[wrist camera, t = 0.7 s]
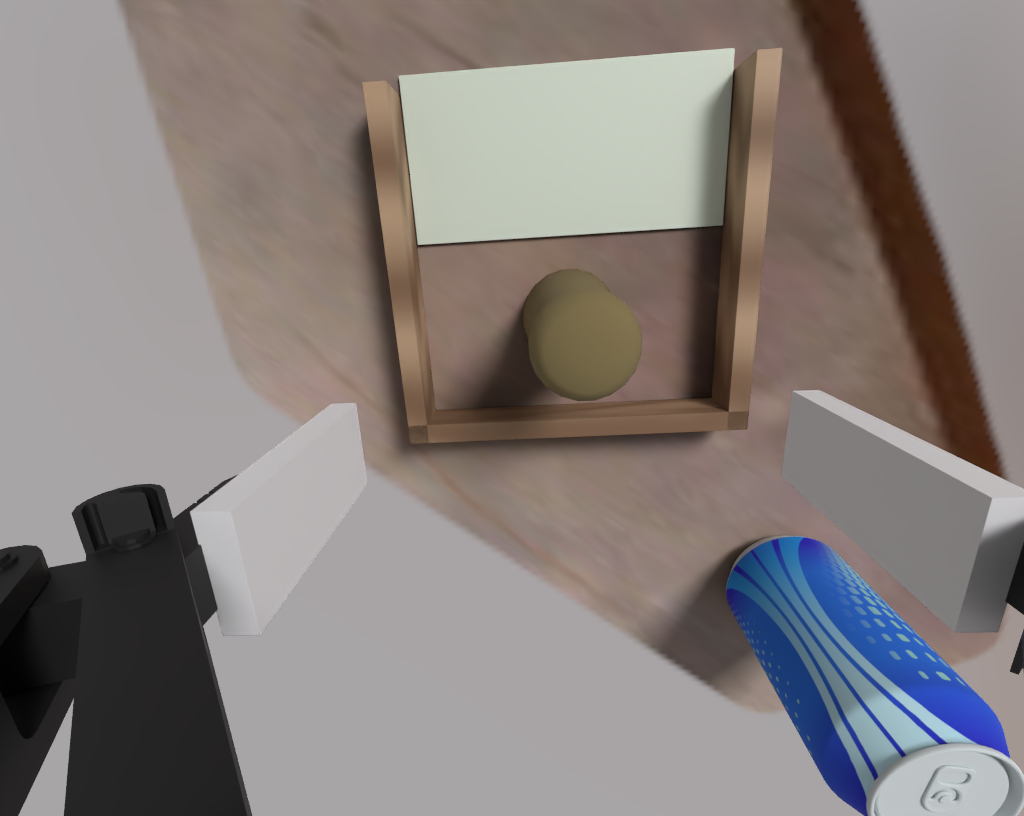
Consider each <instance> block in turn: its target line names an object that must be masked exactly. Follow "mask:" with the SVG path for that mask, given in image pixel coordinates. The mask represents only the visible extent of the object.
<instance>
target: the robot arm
mask: <svg viewBox="0 0 1024 816" xmlns="http://www.w3.org/2000/svg"><path fill="white" fill-rule="evenodd" d="M781 476H782V477H783V478H784V479H785V480H786V481H787V482H788V483H789V484H791V485H792V486H793V487H794V488H795V489H796V490H797V491H798V492H799V493H801V494H802V495H803V496H804V497H805V498H806V499H807V500H808V501H809V502H811V503H812V504H813V505H814V506H815V507H816V508H817V509H818V510H819V511H821V512H822V513H823V514H824V515H825V516H826V517H827V518H828V519H829V520H830V521H832V522H833V523H834V524H835V525H836V526H837V527H838V528H839V529H840V530H842V531H843V532H844V533H845V534H846V535H847V536H848V537H849V538H850V539H852V540H853V541H854V542H855V543H856V544H857V545H858V546H859V547H860V548H862V549H863V550H864V551H865V552H866V553H867V554H868V555H869V556H870V557H871V558H873V559H874V560H875V561H876V562H877V563H878V564H879V565H880V566H881V567H883V568H884V569H885V570H886V571H887V572H888V573H889V574H890V575H891V576H893V577H894V578H895V579H896V580H897V581H898V582H899V583H900V584H901V585H903V586H904V587H905V588H906V589H907V590H908V591H909V592H910V593H911V594H912V595H914V596H915V597H916V598H917V599H918V600H919V601H920V602H921V603H922V604H924V605H925V606H926V607H927V608H928V609H929V610H930V611H931V612H932V613H934V614H935V615H936V616H937V617H938V618H939V619H940V620H941V621H942V622H944V623H945V624H946V625H947V626H948V627H949V628H950V629H951V630H952V631H953V632H998V631H999V628H1000V624H1001V621H1002V618H1003V615H1004V612H1005V609H1006V605H1007V603H1008V604H1010V605H1011V606H1013V607H1014V608H1015V609H1017V610H1018V611H1019V612H1021V613H1022V614H1023V615H1024V489H1022V488H1020V487H1018V486H1016V485H1014V484H1012V483H1010V482H1008V481H1006V480H1004V479H1002V478H1000V477H998V476H996V475H994V474H992V473H989V472H987V471H985V470H983V469H981V468H979V467H977V466H975V465H973V464H971V463H969V462H967V461H965V460H963V459H961V458H958V457H956V456H954V455H952V454H950V453H948V452H946V451H944V450H942V449H940V448H938V447H936V446H934V445H932V444H930V443H927V442H925V441H923V440H921V439H919V438H917V437H915V436H913V435H911V434H909V433H907V432H905V431H903V430H901V429H899V428H896V427H894V426H892V425H890V424H888V423H886V422H884V421H882V420H880V419H878V418H876V417H874V416H872V415H870V414H868V413H865V412H863V411H861V410H859V409H857V408H855V407H853V406H851V405H849V404H847V403H845V402H843V401H841V400H839V399H837V398H835V397H832V396H830V395H828V394H826V393H824V392H822V391H820V390H809V391H793V393H792V400H791V408H790V415H789V422H788V430H787V437H786V444H785V452H784V459H783V466H782V474H781ZM366 485H367V478H366V471H365V463H364V456H363V449H362V442H361V435H360V428H359V421H358V414H357V407H356V403H340V404H331V405H329V406H328V407H327V408H325V409H324V410H323V411H321V412H320V413H319V414H317V415H316V416H315V417H314V418H312V419H311V420H310V421H308V422H307V423H306V424H304V425H303V426H302V427H300V428H299V429H298V430H296V431H295V432H294V433H293V434H291V435H290V436H289V437H287V438H286V439H285V440H283V441H282V442H281V443H279V444H278V445H277V446H276V447H274V448H273V449H272V450H270V451H269V452H268V453H266V454H265V455H264V456H263V457H261V458H260V459H258V460H257V461H256V462H255V463H253V464H252V465H251V466H249V467H248V468H247V469H245V470H244V471H243V472H241V473H240V474H238V475H236V476H234V477H232V478H230V479H228V480H225V481H223V482H222V483H220V484H219V485H218V486H216V487H215V488H214V489H212V490H211V491H210V492H209V494H206V495H204V496H203V497H202V498H200V499H199V500H198V501H197V503H194V504H192V505H191V506H190V507H188V508H187V509H186V510H184V511H183V512H182V513H180V514H179V515H177V516H176V517H175V518H174V519H173V517H172V514H171V510H170V507H169V503H168V499H167V496H166V492H165V489H164V488H163V487H162V486H160V485H155V484H141V485H133V486H128V487H123V488H118V489H115V490H112V491H108V492H105V493H102V494H100V495H97V496H95V497H93V498H90V499H88V500H86V501H85V502H83V503H81V504H80V505H78V506H77V507H76V508H75V510H74V511H73V512H72V516H73V518H74V521H75V524H76V527H77V530H78V533H79V536H80V539H81V541H82V544H83V547H84V550H85V553H86V561H83V562H77V563H72V564H67V565H61V566H55V567H50V568H48V566H47V563H46V561H45V558H44V555H43V553H42V550H41V549H40V548H38V547H37V546H29V545H23V546H16V547H8V548H4V549H1V550H0V816H18V815H19V813H20V810H21V808H22V806H23V804H24V802H25V800H26V798H27V796H28V794H29V792H30V789H31V787H32V785H33V783H34V781H35V779H36V777H37V775H38V772H39V770H40V768H41V766H42V764H43V762H44V759H45V758H46V755H47V753H48V751H49V749H50V747H51V745H52V743H53V741H54V739H55V736H56V734H57V732H58V730H59V728H60V726H61V724H62V721H63V719H64V717H65V715H66V713H67V711H68V709H69V707H70V705H71V702H72V700H73V698H74V704H73V716H72V728H71V739H70V751H69V763H68V774H67V786H66V798H65V810H64V816H252V813H251V809H250V805H249V801H248V798H247V794H246V790H245V786H244V782H243V778H242V775H241V770H240V766H239V763H238V759H237V755H236V752H235V747H234V743H233V740H232V736H231V732H230V728H229V724H228V720H227V716H226V713H225V708H224V705H223V701H222V697H221V693H220V689H219V685H218V681H217V678H216V674H215V670H214V666H213V662H212V659H211V654H210V650H209V647H208V643H207V639H206V635H205V632H204V628H203V625H204V624H205V623H206V622H207V620H208V619H209V618H210V617H211V616H212V615H213V614H214V613H215V611H216V612H217V615H218V619H219V623H220V627H221V630H222V634H223V636H253V635H254V636H255V635H256V636H258V635H259V636H260V635H261V634H262V633H263V631H264V630H265V629H266V627H267V626H268V624H269V623H270V622H271V620H272V619H273V617H274V616H275V614H276V613H277V612H278V610H279V609H280V607H281V606H282V605H283V603H284V601H285V600H286V599H287V597H288V596H289V595H290V593H291V592H292V590H293V589H294V587H295V586H296V585H297V583H298V582H299V580H300V579H301V578H302V576H303V575H304V573H305V572H306V570H307V569H308V567H309V566H310V565H311V563H312V562H313V560H314V559H315V558H316V556H317V555H318V553H319V552H320V551H321V549H322V548H323V546H324V545H325V544H326V542H327V541H328V539H329V538H330V536H331V535H332V534H333V532H334V531H335V529H336V528H337V526H338V525H339V524H340V522H341V521H342V519H343V518H344V517H345V515H346V514H347V512H348V511H349V510H350V508H351V507H352V505H353V503H354V502H355V501H356V499H357V498H358V497H359V495H360V494H361V493H362V491H363V490H364V488H365V487H366ZM1022 668H1024V630H1023V633H1022V636H1021V639H1020V642H1019V645H1018V648H1017V651H1016V654H1015V657H1014V661H1013V663H1012V666H1011V669H1010V672H1013V673H1016V674H1019V673H1020V671H1021V670H1022Z"/></svg>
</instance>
